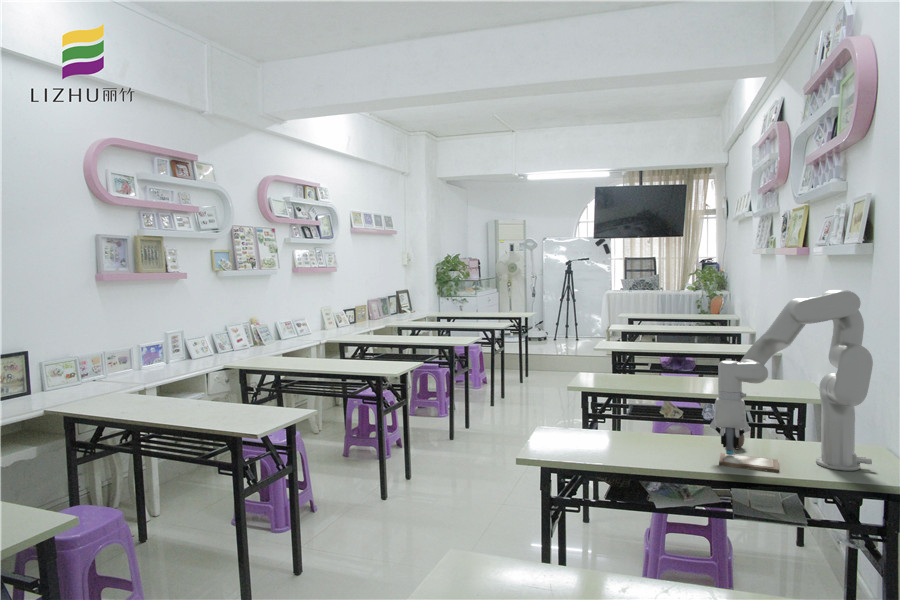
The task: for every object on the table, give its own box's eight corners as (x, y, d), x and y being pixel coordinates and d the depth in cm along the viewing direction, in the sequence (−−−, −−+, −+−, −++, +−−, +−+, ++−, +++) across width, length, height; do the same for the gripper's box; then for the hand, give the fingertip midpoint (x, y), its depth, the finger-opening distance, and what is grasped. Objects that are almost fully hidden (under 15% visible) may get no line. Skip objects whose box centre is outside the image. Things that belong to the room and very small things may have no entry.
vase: (740, 445, 224) (740, 422, 223) (747, 450, 217) (747, 426, 217) (721, 444, 224) (721, 422, 224) (728, 449, 218) (728, 426, 217)
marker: (734, 453, 207) (734, 419, 206) (734, 455, 204) (734, 421, 204) (725, 452, 208) (725, 419, 208) (725, 454, 205) (725, 420, 205)
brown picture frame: (777, 462, 202) (777, 459, 202) (778, 472, 191) (778, 468, 191) (720, 455, 210) (720, 452, 210) (718, 465, 200) (718, 461, 199)
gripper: (755, 395, 205) (755, 447, 205) (705, 392, 213) (705, 441, 213) (755, 399, 198) (755, 452, 199) (704, 395, 206) (704, 447, 206)
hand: (729, 446), depth 206 cm, fingers closed on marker, 3 cm apart
